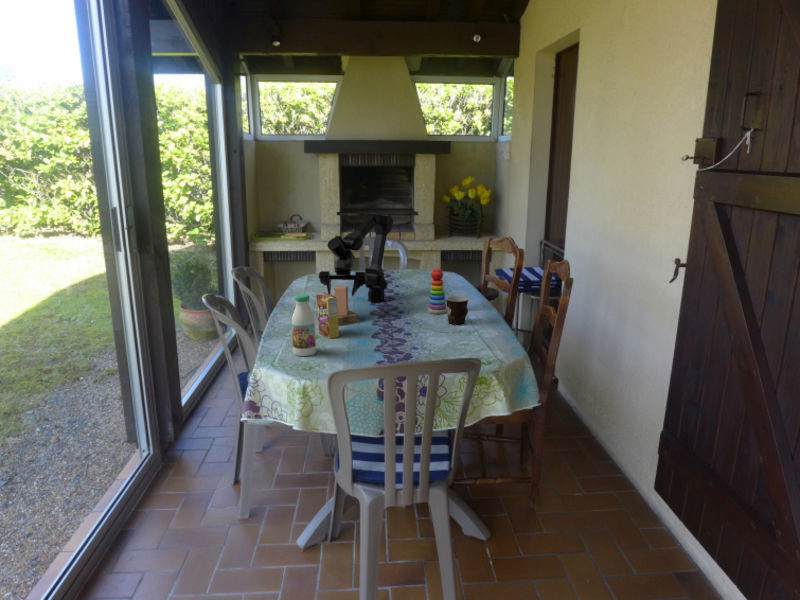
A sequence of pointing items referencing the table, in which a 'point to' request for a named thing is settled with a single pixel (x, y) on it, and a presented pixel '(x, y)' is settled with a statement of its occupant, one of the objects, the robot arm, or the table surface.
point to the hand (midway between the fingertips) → (340, 295)
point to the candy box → (327, 315)
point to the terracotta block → (342, 299)
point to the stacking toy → (437, 293)
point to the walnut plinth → (348, 318)
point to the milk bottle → (303, 327)
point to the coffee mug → (457, 309)
